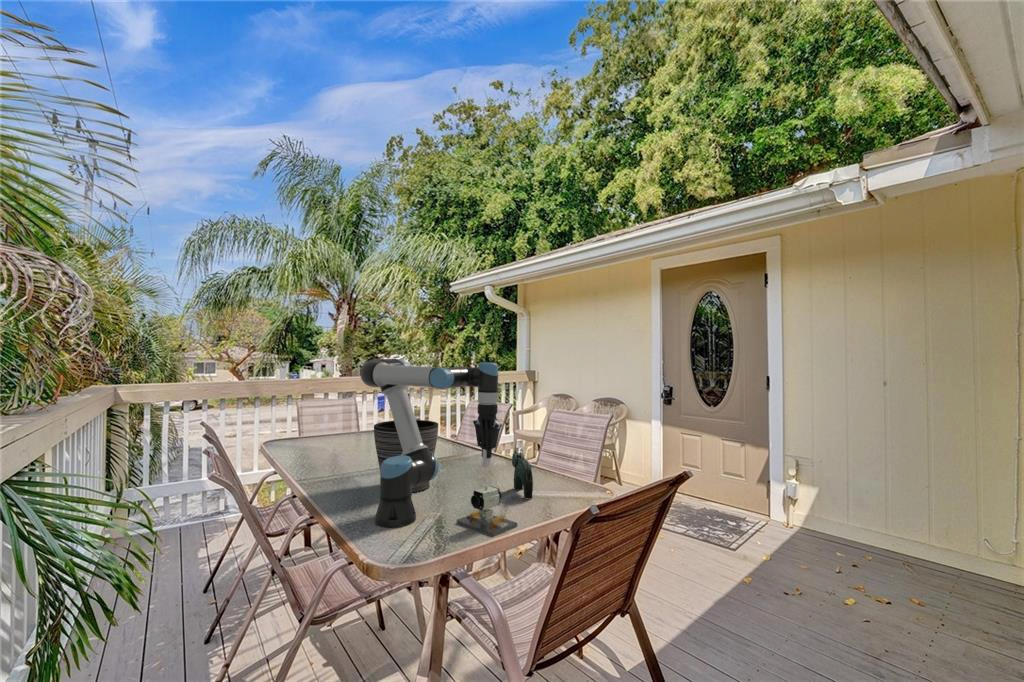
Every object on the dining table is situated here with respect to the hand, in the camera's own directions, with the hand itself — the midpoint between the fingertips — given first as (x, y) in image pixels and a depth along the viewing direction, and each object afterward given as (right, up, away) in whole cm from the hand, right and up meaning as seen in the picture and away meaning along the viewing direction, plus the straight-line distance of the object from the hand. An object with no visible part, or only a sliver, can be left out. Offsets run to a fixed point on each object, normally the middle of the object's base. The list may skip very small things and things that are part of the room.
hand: (486, 466), depth 173 cm
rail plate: (0, -22, -1) cm, 22 cm away
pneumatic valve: (0, -20, -1) cm, 20 cm away
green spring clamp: (+15, -23, +39) cm, 48 cm away
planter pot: (-41, -23, +46) cm, 66 cm away
